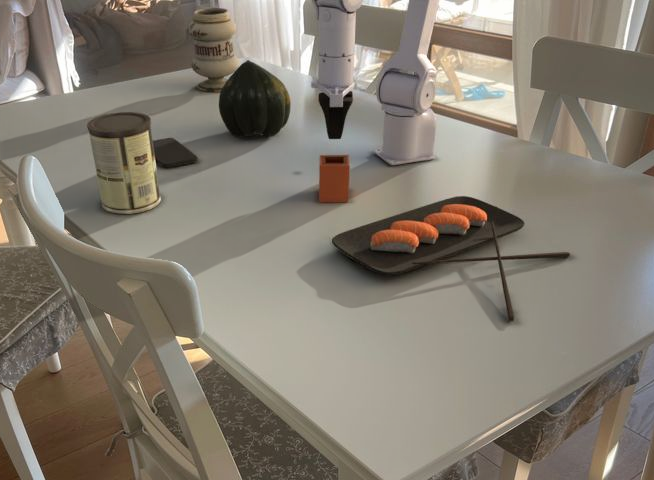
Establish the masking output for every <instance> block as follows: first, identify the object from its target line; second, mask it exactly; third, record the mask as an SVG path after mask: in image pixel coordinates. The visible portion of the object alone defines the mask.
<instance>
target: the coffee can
mask: <svg viewBox="0 0 654 480" xmlns="http://www.w3.org/2000/svg"><path fill="white" fill-rule="evenodd" d="M151 125H152V118H151V117H150V116H149V115H147V114H145V113H141V112H133V111H123V112H122V111H121V112H120V111H119V112H111V113H106V114H103V115H99V116H96V117H94V118H92V119H90V120H89V121H88V122H86V129H87V131H88V135H89V139H90V145H91V151H92V156H93V162H94V167H95V171H96V178H97V183H98V187H99V188H98V189H99V193H100V194H99V195H100V200H101V206H102V208H103V210H104V211H107V212H109V213H112V214H116V215H117V214H118V215H130V214H131V215H132V214H139V213H143V212H146V211H150V210H152V209H154V208H156V207H157V206H159V204H160V203H161V200H162V197H161V193H160V186H159V179H158V178H159V177H158V169H157V163H156V161H155V155H154V147H153V140H154V139H153V133H152V126H151Z"/></svg>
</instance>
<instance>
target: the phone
mask: <svg viewBox="0 0 654 480" xmlns="http://www.w3.org/2000/svg"><path fill="white" fill-rule="evenodd" d="M153 147H154V155H155V162H157V164H158V165H160V167H162V168H172V167H177V166H181V165H187V164H193V163H197V162H198V156H197V154H195V153H193V151H191V150H189V148H187V147H186V146H184V144H182V143H181V142H179V141H178V140H177V139H176V138H174V137H165V138H160V139H153Z"/></svg>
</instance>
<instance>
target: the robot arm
mask: <svg viewBox="0 0 654 480" xmlns="http://www.w3.org/2000/svg"><path fill="white" fill-rule="evenodd" d="M363 2H364V0H311V3H312V4H313V7H314V12H315V15H314V17H315V18H316V21H317V22H318V57H317V58H318V59H317V60H318V61H317V63H318V69H317V70H318V71H317V73H318V75H317V76H318V77H317V78H318V80H311V82H310V87H311V89H318V90H319V91H321V92H319V93H318V98H317V99H318V103H319V107H320V108H321V110H322V113H323V116H324V121H325V127H326V134H327V137H328V139H329V140H341V139H342V137H343V132H344V127H345V123H346V118H347V115H348V112H349V110H350V108H351V106H352V104H353V102H354V97H353V95H354V94H353V91H352V90H353V89H354V88H355V86H356V85H355V84H356V82H355V80H354V78H355V49H356V47H355V46H356V22H357V21H356V19H357V10H358V9H360V8H361V6H362V5H363ZM439 3H440V0H408V4H407V9H406V13H405V16H404V17H405V18H404V22H403V28H402V31H401V37H400V41H399V46H398V51H397V52H396V53H395V54H394V55H393V56H391V57H390V58H388V59H387V60H386V61H385V62H384V64H383V68H382V71H381V74H380V76H379V78H378V79H377V83H376V85H375V86H376V88H375V96H376V99H377V102H378V103H379V104H380V105H381V107H380V108H381V111H384V115H383V117H384V118H383V131H382V132H383V134H382V148H379V149H374V150H373V154H375V155H376V156H378V157H379V158H380V159H382V160H383V161H384V162H386V163H387V164H388V165H390V166H398V165H404V164H411V163H416V162H417V163H418V162H423V161H429V160H435V159H436V156H435V155H434V151H435V143H436V133H437V119H436V114H435V112H434V110H433V109H432V108H431V107H432V105H433V103H434V101H435V98H436V93H437V87H436V84H437V83H436V82H437V75H438V70H437V69H436V67H435V66H434V65H433V63H432V62H431V60H430V59H429V58H428V52H429V49H430V48H429V47H430V43H431V40H432V38H431V37H432V35H433V30H434V25H435V21H436V18H437V12H438V7H439ZM402 71H403V72H402ZM404 71H408V72H414V73H416V74H414V73H413V74H412V73H407V72H404Z"/></svg>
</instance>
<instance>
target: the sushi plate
mask: <svg viewBox="0 0 654 480" xmlns="http://www.w3.org/2000/svg"><path fill="white" fill-rule="evenodd" d="M523 227H525V221H524V220H523V219H522V218H520V217H519V216H517V215H515V214H514V213H511V212H509V211H507V210H504V209H502V208H500V207H497V206H495V205H492V204H491V203H488V202H487V201H483V200H481V199H478V198H475V197H472V196H467V195H459V196H453V197H449V198H446V199H445V198H444V199H441V200H438V201H435V202H432V203H429V204H425V205H423V206H420V207H417V208H413V209H410V210H407V211H404V212H401V213H399V214H394V215H392V216H389V217H386V218H382V219H379V220H376V221H373V222H370V223H367V224H364V225H361V226H357V227H354V228H352V229H349V230H346V231H342V232H340V233H338V234H336V235H335V236H333V237H332V238H331V244H332V245H333V246H334V248H335V249H336V250H338V251H339V252H341V253H342V254H344V255H345V256H347V257H348V258H350V259H352V260H353V261H355V262H356V263H358V264H360V265H362V266H363V267H365V268H367V269H369V270H371V271H373V272H375V273H376V274H381V275H383V276H384V275H385V276H395V275H401V274H404V273H407V272H410V271H413V270H416V269H419V268H421V267H425V266H427V265H430V264H444V263H445V264H447V263H463V262H464V263H466V262H484V261H485V262H487V261H489V262H490V261H497V263H498V268H499V273H500V281H501V285H502V291H503V296H504V303H505V308H506V314H507V318H508V322H514V320H515V319H514V318H515V314H514V310H513V305H512V300H511V296H510V292H509V288H508V287H509V286H508V283H507V278H506V275H505V274H506V273H505V269H504V266H503V261H510V260H536V259H538V260H539V259H540V260H541V259H559V258H569V257H570V256H571V253H570V252H569V251H557V252H543V253H529V254H514V255H501V253H500V252H501V251H500V247H499V242H498V239H501V238H503V237H505V236H508V235H511V234H513V233H515V232H518V231H519V230H522V229H523ZM492 241H494V247H495V252H496V256H486V257H485V256H484V257H471V258H455V259H453V258H452V259H446V258H449V257H451V256H455V255H457V254H459V253H463V252H465V251H468V250H471V249H473V248H476V247H479V246H481V245H484V244H487V243H490V242H492Z"/></svg>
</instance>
